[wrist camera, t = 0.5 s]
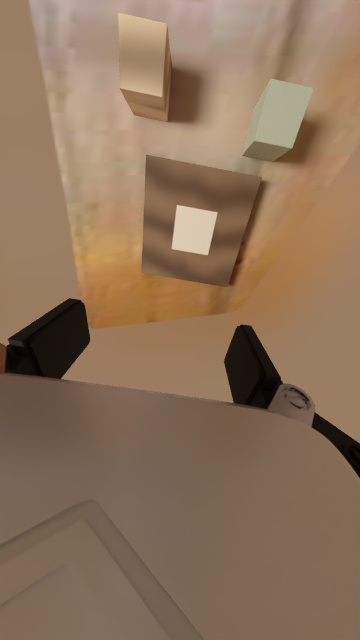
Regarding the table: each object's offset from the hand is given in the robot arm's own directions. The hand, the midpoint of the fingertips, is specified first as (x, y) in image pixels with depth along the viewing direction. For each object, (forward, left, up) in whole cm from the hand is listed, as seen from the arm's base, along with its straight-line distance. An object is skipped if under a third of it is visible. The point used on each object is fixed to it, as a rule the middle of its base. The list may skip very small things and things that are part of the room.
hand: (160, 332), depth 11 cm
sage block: (-18, +10, -28) cm, 35 cm away
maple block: (-20, -7, -28) cm, 35 cm away
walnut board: (-4, +2, -28) cm, 28 cm away
